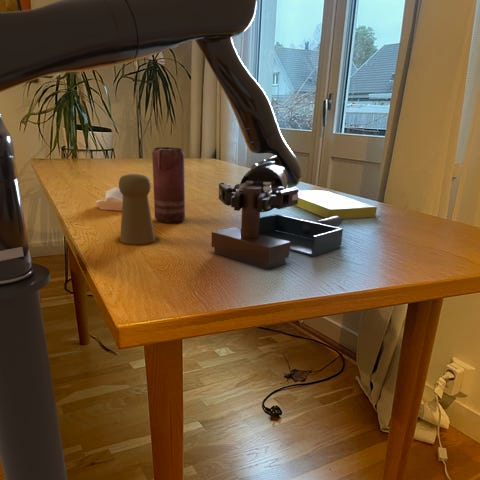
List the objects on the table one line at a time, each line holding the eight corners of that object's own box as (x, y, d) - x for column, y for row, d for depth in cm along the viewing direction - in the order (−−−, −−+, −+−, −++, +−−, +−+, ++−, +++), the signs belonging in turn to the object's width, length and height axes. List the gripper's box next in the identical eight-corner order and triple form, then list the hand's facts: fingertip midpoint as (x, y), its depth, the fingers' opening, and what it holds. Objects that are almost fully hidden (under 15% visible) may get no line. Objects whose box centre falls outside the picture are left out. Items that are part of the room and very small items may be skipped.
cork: (123, 245, 79) (118, 177, 75) (117, 236, 84) (112, 172, 80) (158, 243, 82) (156, 176, 77) (151, 234, 87) (148, 171, 82)
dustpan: (313, 256, 77) (315, 236, 76) (245, 238, 86) (246, 220, 85) (371, 236, 91) (374, 219, 89) (307, 222, 100) (309, 207, 98)
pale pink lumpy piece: (103, 192, 99) (88, 185, 106) (105, 213, 101) (90, 205, 108) (147, 189, 104) (130, 182, 112) (148, 209, 106) (131, 201, 113)
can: (149, 222, 95) (145, 148, 90) (163, 215, 101) (161, 146, 95) (176, 225, 94) (175, 150, 88) (189, 218, 99) (189, 147, 93)
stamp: (267, 270, 70) (272, 194, 65) (211, 252, 77) (211, 183, 73) (288, 263, 73) (294, 191, 69) (232, 247, 81) (234, 180, 76)
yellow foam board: (375, 216, 108) (320, 197, 128) (377, 206, 107) (321, 189, 127) (329, 219, 103) (279, 199, 123) (330, 209, 102) (280, 190, 122)
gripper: (226, 162, 84) (201, 174, 68) (306, 166, 82) (298, 180, 66) (225, 204, 87) (201, 226, 72) (302, 210, 85) (294, 233, 69)
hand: (248, 204), depth 69 cm, fingers closed on stamp, 3 cm apart
